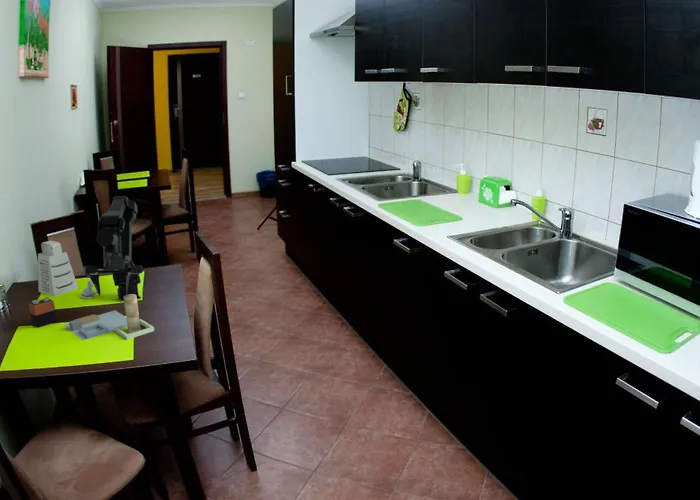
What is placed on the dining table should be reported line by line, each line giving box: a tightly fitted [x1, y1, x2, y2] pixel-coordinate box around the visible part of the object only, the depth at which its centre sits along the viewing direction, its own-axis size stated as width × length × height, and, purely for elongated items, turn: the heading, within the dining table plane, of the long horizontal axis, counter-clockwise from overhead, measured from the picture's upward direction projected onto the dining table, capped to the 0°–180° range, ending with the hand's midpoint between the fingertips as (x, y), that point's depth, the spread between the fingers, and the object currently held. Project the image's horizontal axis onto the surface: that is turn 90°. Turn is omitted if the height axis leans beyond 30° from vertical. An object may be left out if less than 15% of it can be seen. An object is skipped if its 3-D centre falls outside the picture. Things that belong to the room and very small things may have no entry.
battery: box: [28, 297, 58, 328], centre depth 201 cm, size 4×7×10 cm, turn 140°
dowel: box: [123, 294, 142, 334], centre depth 193 cm, size 4×4×13 cm
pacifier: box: [79, 280, 98, 300], centre depth 228 cm, size 7×6×6 cm
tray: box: [114, 318, 155, 340], centre depth 195 cm, size 9×9×2 cm
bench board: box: [63, 309, 127, 341], centre depth 200 cm, size 18×17×4 cm
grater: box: [37, 240, 79, 297], centre depth 233 cm, size 10×10×20 cm
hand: (113, 295), depth 202 cm, fingers open, 9 cm apart
